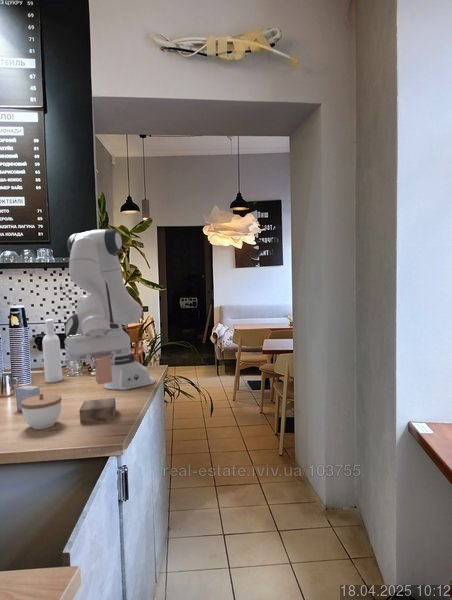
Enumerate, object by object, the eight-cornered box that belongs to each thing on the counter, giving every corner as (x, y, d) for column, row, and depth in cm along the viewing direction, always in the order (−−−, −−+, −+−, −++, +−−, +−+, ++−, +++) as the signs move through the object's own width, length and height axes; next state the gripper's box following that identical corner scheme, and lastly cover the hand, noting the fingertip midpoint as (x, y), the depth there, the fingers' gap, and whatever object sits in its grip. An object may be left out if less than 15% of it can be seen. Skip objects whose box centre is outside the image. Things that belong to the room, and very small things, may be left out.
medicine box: (41, 408, 163) (40, 386, 163) (33, 412, 159) (31, 389, 158) (25, 407, 166) (24, 385, 165) (16, 410, 162) (14, 388, 161)
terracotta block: (109, 379, 142) (107, 355, 141) (112, 382, 138) (110, 358, 137) (95, 381, 140) (94, 357, 139) (98, 384, 136) (96, 360, 135)
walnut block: (116, 411, 157) (115, 397, 157) (113, 421, 146) (112, 407, 146) (85, 414, 155) (84, 400, 155) (80, 424, 144) (79, 410, 144)
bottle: (41, 381, 205) (37, 320, 203) (56, 377, 212) (51, 318, 210) (51, 383, 201) (46, 320, 199) (65, 379, 207) (61, 318, 205)
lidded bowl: (22, 435, 136) (19, 401, 135) (23, 423, 148) (21, 392, 147) (64, 427, 141) (61, 395, 140) (62, 416, 152) (60, 386, 152)
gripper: (64, 330, 139) (70, 365, 131) (125, 323, 148) (134, 356, 140) (63, 342, 144) (69, 376, 136) (123, 334, 153) (132, 366, 145)
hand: (103, 365), depth 138 cm, fingers closed on terracotta block, 4 cm apart
